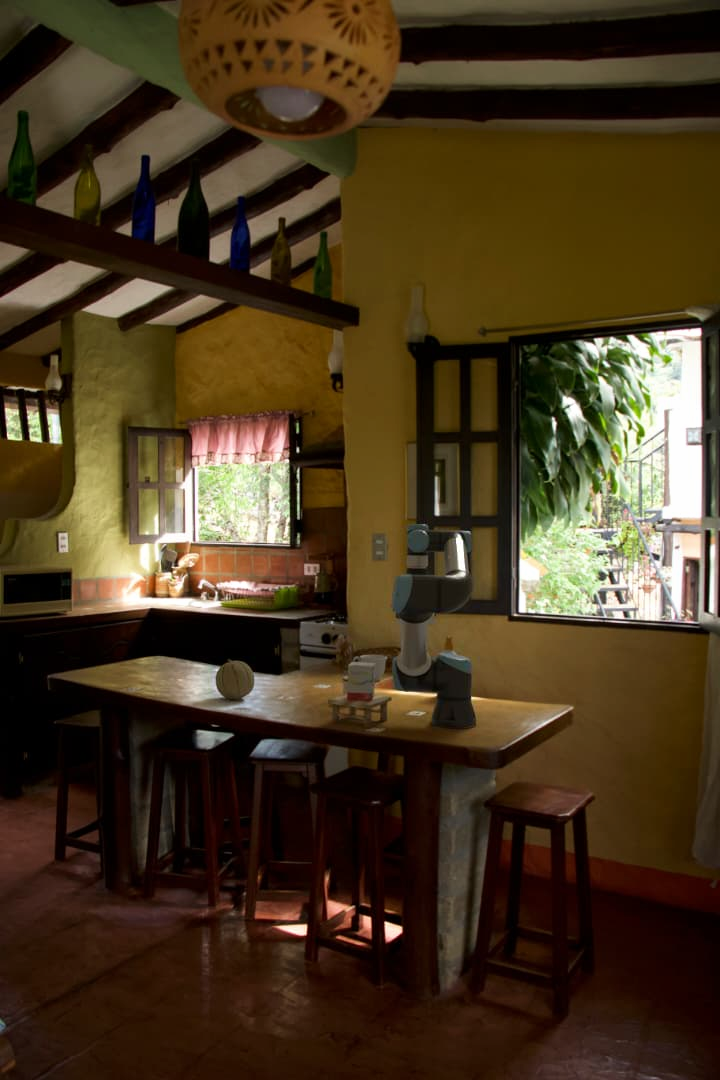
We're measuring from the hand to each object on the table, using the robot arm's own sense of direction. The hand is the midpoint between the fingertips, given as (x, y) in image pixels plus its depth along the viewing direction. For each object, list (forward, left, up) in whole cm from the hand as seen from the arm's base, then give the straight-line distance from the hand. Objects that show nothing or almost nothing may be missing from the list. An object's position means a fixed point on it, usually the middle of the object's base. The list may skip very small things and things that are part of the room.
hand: (415, 626), depth 316 cm
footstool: (-5, +25, -31) cm, 40 cm away
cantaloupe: (+47, +51, -31) cm, 76 cm away
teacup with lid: (+26, +10, -31) cm, 41 cm away
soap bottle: (+20, -27, -31) cm, 46 cm away
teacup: (+64, -16, -31) cm, 73 cm away
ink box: (-5, +25, -23) cm, 34 cm away
